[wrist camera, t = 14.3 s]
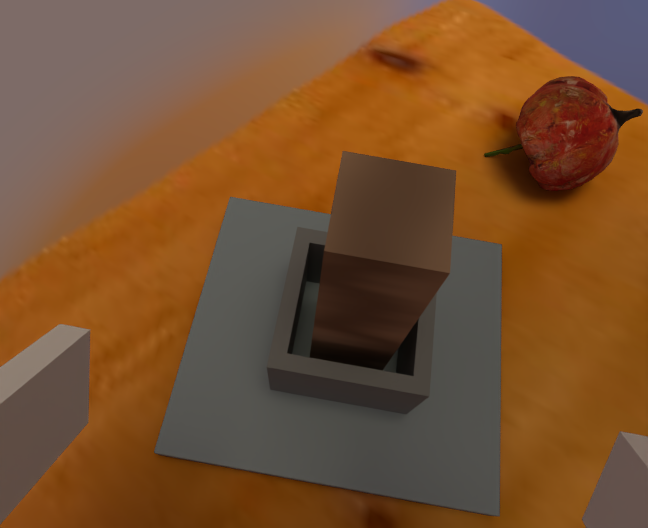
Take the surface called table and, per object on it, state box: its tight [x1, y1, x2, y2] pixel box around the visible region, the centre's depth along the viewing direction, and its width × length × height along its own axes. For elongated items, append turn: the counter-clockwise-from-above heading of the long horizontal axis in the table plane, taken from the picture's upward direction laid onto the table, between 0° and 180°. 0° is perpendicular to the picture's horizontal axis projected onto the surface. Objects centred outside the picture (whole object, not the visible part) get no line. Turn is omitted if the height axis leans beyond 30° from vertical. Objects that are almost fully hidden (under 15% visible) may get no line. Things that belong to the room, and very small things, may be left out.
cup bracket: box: [154, 197, 502, 516], centre depth 27 cm, size 18×16×6 cm
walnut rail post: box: [310, 151, 456, 371], centre depth 23 cm, size 4×4×14 cm
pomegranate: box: [484, 76, 643, 191], centre depth 34 cm, size 7×7×10 cm
